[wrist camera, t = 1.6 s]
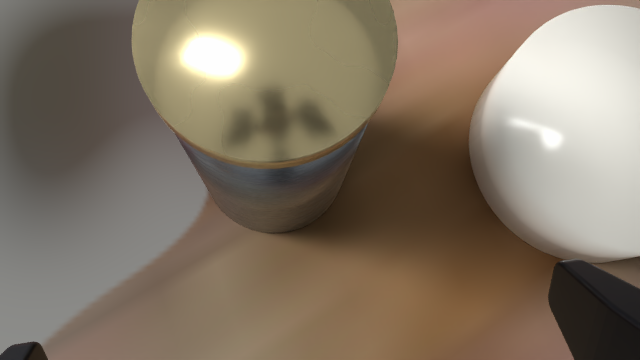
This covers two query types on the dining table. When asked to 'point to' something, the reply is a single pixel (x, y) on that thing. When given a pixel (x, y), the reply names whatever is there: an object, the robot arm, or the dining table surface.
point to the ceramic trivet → (566, 137)
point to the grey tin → (267, 95)
